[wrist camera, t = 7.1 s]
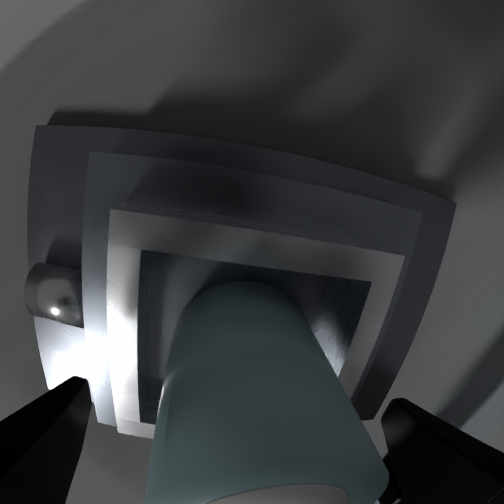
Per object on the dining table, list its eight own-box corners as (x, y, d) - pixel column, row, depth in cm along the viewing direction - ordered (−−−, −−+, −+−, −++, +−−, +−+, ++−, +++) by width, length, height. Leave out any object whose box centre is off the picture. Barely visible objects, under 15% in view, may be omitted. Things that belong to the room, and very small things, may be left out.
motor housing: (447, 200, 14) (508, 217, 9) (368, 411, 17) (395, 458, 13) (44, 126, 10) (-17, 119, 6) (53, 381, 14) (24, 431, 10)
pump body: (322, 289, 11) (433, 436, 4) (289, 395, 12) (336, 539, 5) (179, 271, 10) (132, 448, 3) (170, 385, 11) (152, 544, 5)
